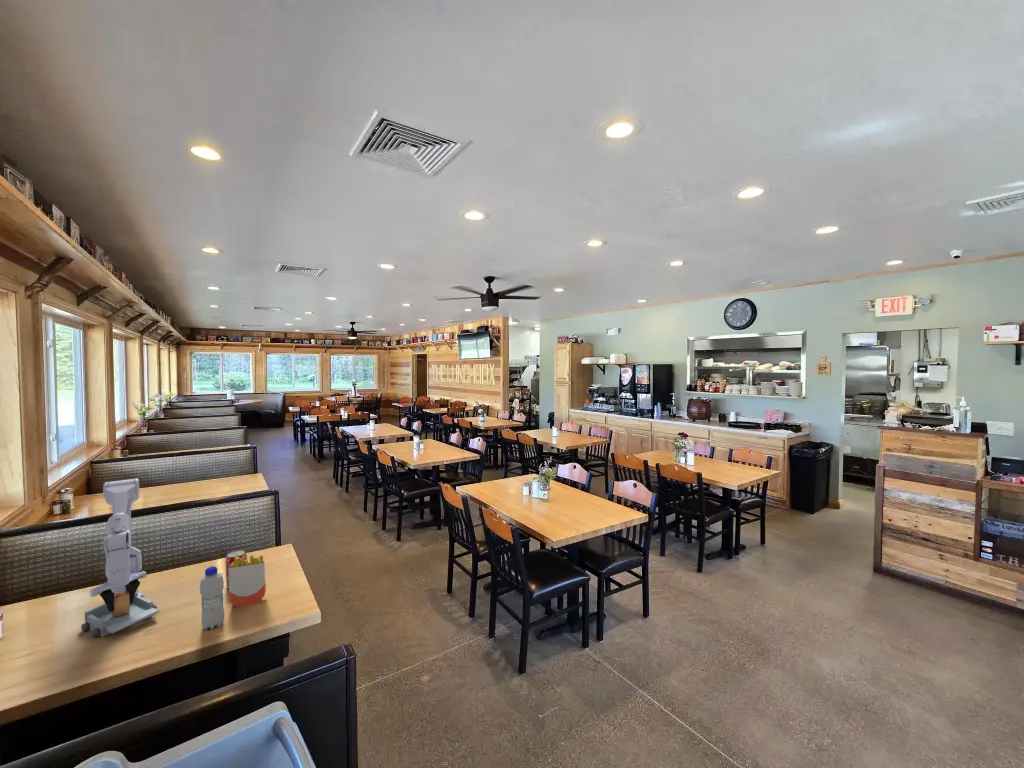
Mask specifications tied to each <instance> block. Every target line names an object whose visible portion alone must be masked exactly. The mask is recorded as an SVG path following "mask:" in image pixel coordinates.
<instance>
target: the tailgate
mask: <svg viewBox="0 0 1024 768" xmlns="http://www.w3.org/2000/svg"><path fill="white" fill-rule="evenodd" d="M159 612H160V610H159V609H158V608H156V609H155V608H150V609H148V610H146V611H143V612H141V613H139V614H136V615H134V616H132V617H129V618H127V619H125V620H122V621H120V622H118V623H115V624H113V625H111V626H108V627H106V631H108V632H110V633H109V634H115V633H116V632H118V631H122V630H124V629H125V628H127V627H129V626H133V625H134V624H136V623H139V622H141V621H144V620H146V619H147V618H150V617H152V616H154V615H157V614H159Z"/></svg>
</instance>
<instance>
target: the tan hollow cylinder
mask: <svg viewBox="0 0 1024 768" xmlns="http://www.w3.org/2000/svg"><path fill="white" fill-rule="evenodd" d="M129 611H130V595H129V592H128V591H124V592H119V593H116V594H115V595H114V611H113V612H112V616H119V615H123V614H125V613H127V612H129Z"/></svg>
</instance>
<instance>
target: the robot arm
mask: <svg viewBox="0 0 1024 768" xmlns="http://www.w3.org/2000/svg"><path fill="white" fill-rule="evenodd" d="M102 489H103V490H102V491H103V492H102V494H103V498H104V501H105V502H106V504H107V505H111V506H112V515H111V516H110V517H109V518H108V520H107V526H106V527H107V528H106V536H104V538H103V550H104V553H105V554H104V555H105V559H106V560H105V578H107V581H106V582H104V583H101V584H100V585H98V586H96V587H94V588H92V589H90V590H89V595H90V597H92V598H94V597H97V596H100V597H101V599H102V600H103V601H104V602H105V603H106V605H107V608H108V611H110V612H113V611H114V595H115V594H116V593H119V592H124V591H128V592H129V595H130V604H132V602H133V598H134V595H135V592H138V595H139V596H141V597H143V596H144V593H141V592H140V591H139V587H140V586H141V581H140V579H145V578H147V572H146V571H145V570H143V569H142V566H143V561H142V551H141V550H140V549H139V548H136V547H134V546H132V509H131V508H132V505H133V503H134V502H136V501H138V500H139V497H140V479H139V478H137V477H136V478H131V479H123V480H114V481H113V480H112V481H105V483H103V487H102ZM141 570H142V571H141ZM105 603H104V604H105Z"/></svg>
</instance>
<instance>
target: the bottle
mask: <svg viewBox="0 0 1024 768" xmlns="http://www.w3.org/2000/svg"><path fill="white" fill-rule="evenodd" d="M204 570H205V571H204V574H205V575H204V576H202V577H201V579H200V585H199V594H200V596H201V598H200V599H201V626H202V628H203V629H204V630H209V628H210V630H213V629H214V628H215V626H216V627H217V628H218V627H220V626H221V625H222V624H223V623H224V622H225V608H224V588H225V586H224V585H225V581H224V577H223V576H224V574H222V573H221V572H218V567H217V566H215V565H214V566H212V565H211V566H209V567H207V568H206V569H204Z"/></svg>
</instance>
